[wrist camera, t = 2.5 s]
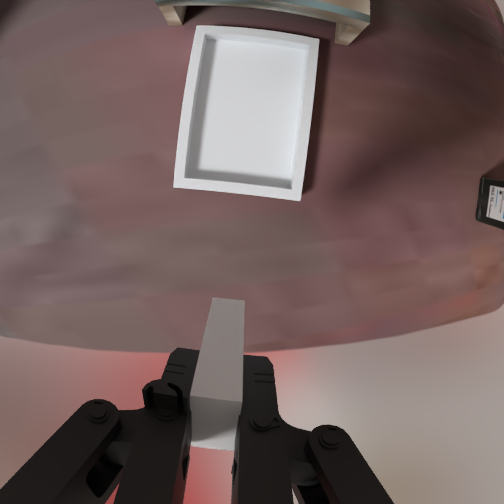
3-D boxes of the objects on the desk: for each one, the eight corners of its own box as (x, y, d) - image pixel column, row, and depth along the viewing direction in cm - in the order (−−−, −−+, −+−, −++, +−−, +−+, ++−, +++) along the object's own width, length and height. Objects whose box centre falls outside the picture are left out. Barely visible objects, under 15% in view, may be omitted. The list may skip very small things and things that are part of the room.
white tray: (179, 184, 24) (173, 187, 22) (200, 36, 20) (196, 25, 18) (295, 197, 25) (300, 201, 23) (313, 48, 21) (319, 39, 19)
